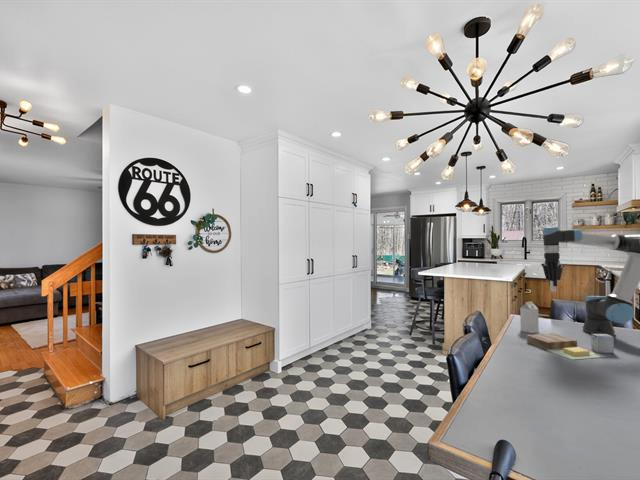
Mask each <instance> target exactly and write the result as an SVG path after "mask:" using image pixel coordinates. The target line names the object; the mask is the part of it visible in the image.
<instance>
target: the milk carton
mask: <svg viewBox="0 0 640 480" xmlns="http://www.w3.org/2000/svg"><path fill="white" fill-rule="evenodd" d="M519 309H520V312H519V315H520V320H519V321H520V331H521V332H525V333H530V334H536V333H539V332H540V331H539V324H540V323H539V307H537V306H536V305H535V304H534V303H533V301H527V302H526V301H525V304H523V305H522V306H521V307H519Z"/></svg>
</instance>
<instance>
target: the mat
mask: <svg viewBox="0 0 640 480" xmlns="http://www.w3.org/2000/svg"><path fill="white" fill-rule="evenodd" d="M546 351H547V352H550V353H553V354H555V355H558V356H561V357H563V358H565V359H568V360H571V361H576V360H588V359H601V358H602V359H603V358H607V356H606V355H603V354H601V353H597V352H595V351H592V350H589V351H590V355H581V356H573V355H570V354H568V353H565V352H563V349H550V350H547V349H546Z"/></svg>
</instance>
